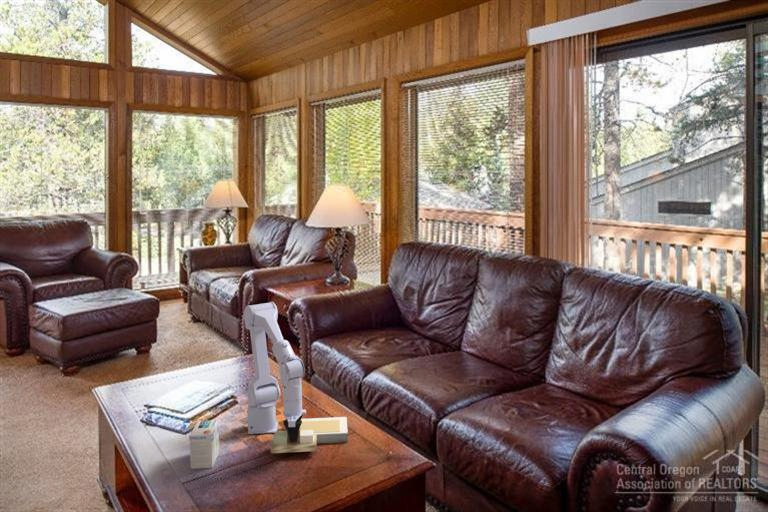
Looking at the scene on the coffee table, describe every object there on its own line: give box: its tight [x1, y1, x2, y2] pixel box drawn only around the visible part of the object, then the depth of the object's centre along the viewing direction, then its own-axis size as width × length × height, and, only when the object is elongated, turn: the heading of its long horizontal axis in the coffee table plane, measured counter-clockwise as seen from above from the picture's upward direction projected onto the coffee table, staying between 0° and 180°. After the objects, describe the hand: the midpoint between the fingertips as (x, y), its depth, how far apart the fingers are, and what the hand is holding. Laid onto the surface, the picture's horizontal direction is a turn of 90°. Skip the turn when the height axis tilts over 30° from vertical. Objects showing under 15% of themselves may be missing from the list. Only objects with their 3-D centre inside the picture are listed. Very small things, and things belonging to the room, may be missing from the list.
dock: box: [300, 416, 349, 444], centre depth 194 cm, size 20×14×3 cm
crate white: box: [300, 430, 313, 443], centre depth 182 cm, size 4×4×2 cm
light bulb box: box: [188, 419, 220, 469], centre depth 177 cm, size 11×7×11 cm, turn 5°
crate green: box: [273, 430, 287, 445], centre depth 181 cm, size 4×4×2 cm
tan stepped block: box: [269, 428, 317, 454], centre depth 181 cm, size 14×7×6 cm, turn 95°
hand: (294, 438), depth 182 cm, fingers closed on tan stepped block, 3 cm apart
